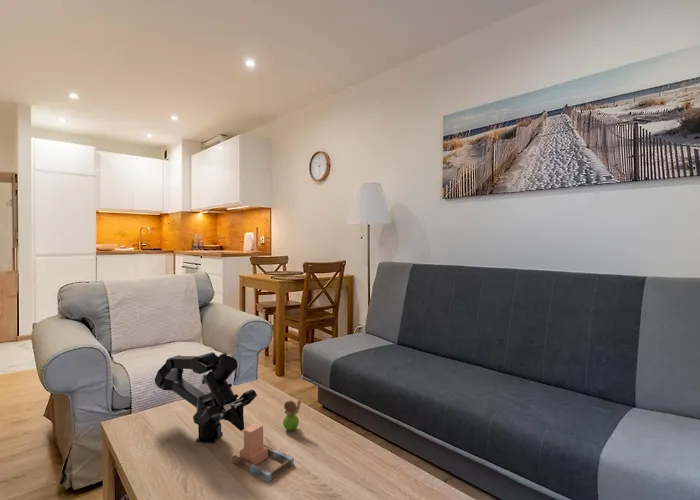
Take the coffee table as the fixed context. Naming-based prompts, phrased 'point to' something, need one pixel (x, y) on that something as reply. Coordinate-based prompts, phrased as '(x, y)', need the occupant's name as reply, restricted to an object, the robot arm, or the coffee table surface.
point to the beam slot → (261, 472)
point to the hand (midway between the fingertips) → (242, 430)
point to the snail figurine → (291, 414)
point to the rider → (254, 445)
